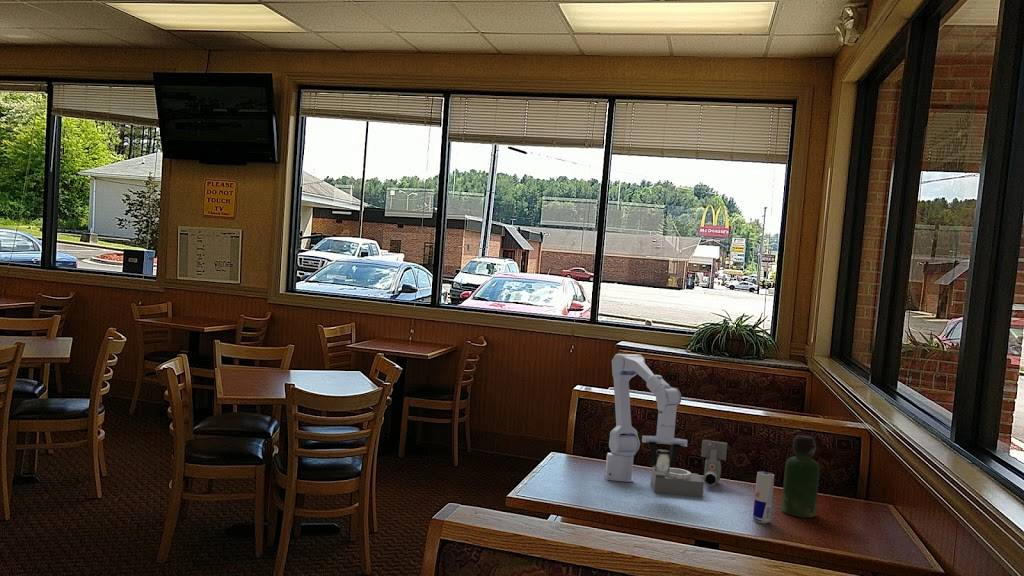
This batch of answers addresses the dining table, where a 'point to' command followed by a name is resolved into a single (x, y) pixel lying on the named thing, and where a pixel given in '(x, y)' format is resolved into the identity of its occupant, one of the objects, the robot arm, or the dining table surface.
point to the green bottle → (801, 479)
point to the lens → (663, 461)
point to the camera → (713, 460)
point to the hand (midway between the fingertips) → (662, 465)
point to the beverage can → (763, 497)
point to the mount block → (677, 482)
